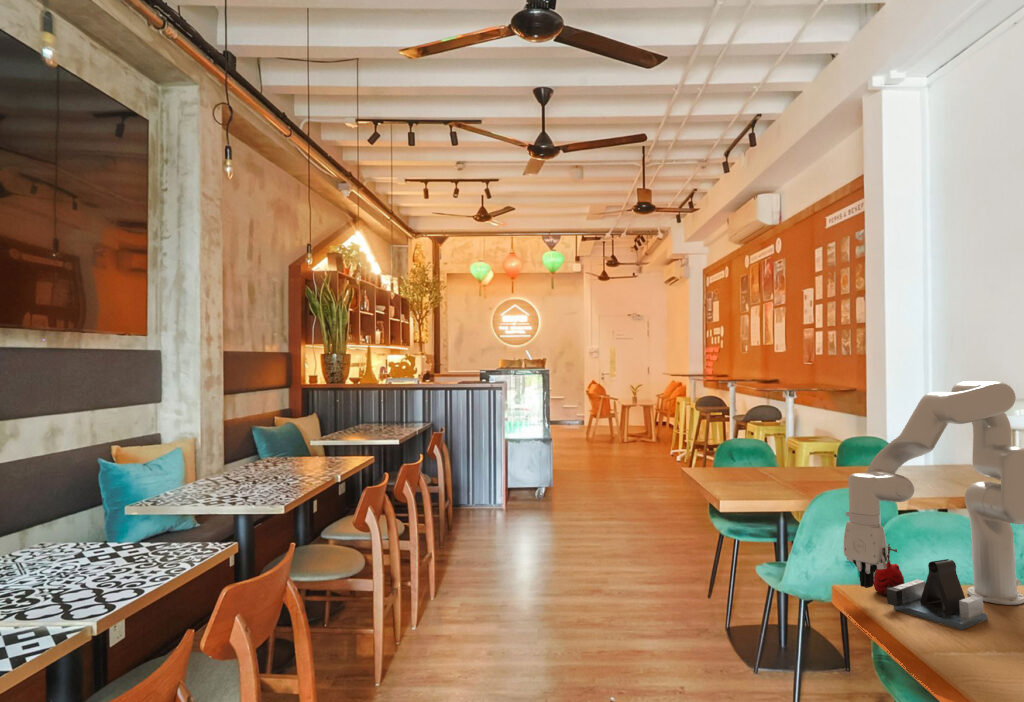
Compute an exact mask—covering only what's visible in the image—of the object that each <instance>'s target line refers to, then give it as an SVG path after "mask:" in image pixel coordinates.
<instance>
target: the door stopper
mask: <svg viewBox="0 0 1024 702" xmlns="http://www.w3.org/2000/svg"><path fill="white" fill-rule="evenodd" d="M927 564H928V565H927V566H928V574H927V578H926V581H925V587H924V590H923V593H922V597H921V600H920V603H922V604H925V605H927V606H930V607H933V608H936V609H938V610H941V611H943V612H946V613H949V614H956V613H960V605H959V601H960V600H962V599H965V598H966V595H965V594H964V591H963V588H962V584H961V582H960V580H959V577H958V574H957V564H956V562H955V561H954V560H953V559H950V558H946V559H940V560H934V561H930V562H928V563H927Z"/></svg>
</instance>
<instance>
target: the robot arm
mask: <svg viewBox="0 0 1024 702" xmlns="http://www.w3.org/2000/svg"><path fill="white" fill-rule="evenodd" d="M1015 402H1016V393H1015V391H1014V389H1013V387H1011V386H1010V385H1009V384H1007V383H1004V382H1001V381H995V380H994V381H993V380H991V381H990V380H989V381H987V380H986V381H985V380H984V381H983V380H966V381H960V382H958V383H956V384H954V385H953V386H952V388H951V392H949V391H932V392H927V393H926V394H924V395H923V396H922V397H921V399H920V400H919V402H918V403H917V405H916V407H915V409H914V410H913V412H912V414H911V416H910V417H909V419H908V420H907V422H906V424H905V426H904V427H903V429H902V431H901V432H900V433H899V435H898V436H897V437H896V438H894V439H893V440H891V441H890V442H889V443H888V444H887V445H885V446H884V447H883V448H882V449H881V450H879V452H878V453H876V455H875V456H874V458H873V459H872V461H871V462H870V464H869V466H868V468H867V469H866V471H865V472H860V473H859V472H857V473H856V472H855V473H851V474H850V475H849V477H848V478H847V479H848V509H849V510H848V511H846V512H845V516H846V517H848V520H849V521H846V522H845V523H846V524H845V529H844V533H843V534H844V535H843V555H844V556H845V557H846V560H847V561H849V562H851V563H853V564H854V566H855V567H856V569H857V571H858V572H859V582H860V587H862V588H865V589H869V588H872V587H874V573H875V571H876V570H877V569H886V568H887V566H886V563H887V560H888V558H887V555H888V544H887V538H886V534H885V529H884V526H883V525H881V524H882V523H881V522H882V521H881V502H882V501H883V502H884V501H885V502H892V503H905V502H907V501H908V500H911V498H912V497H913V495H914V494H915V486H914V484H913V483H912V481H911V480H910V479H909V478H908V477H906V476H904V475H901V474H898V473H897V471H898V470H899V469H900V468H901V467H902V466H903V465H904V464H906V463H907V462H908V461H911V460H913V459H916V458H919V457H922V456H924V455H926V454H929V453H931V452H932V451H933V450H934V448H935V447H936V445H937V443H938V442H939V440H940V438H941V437H942V434H944V432H945V429H946V428H947V426H948V425H949V424H954V425H955V424H956V425H963V424H969V423H971V424H972V435H973V436H972V438H973V439H972V466H973V467H972V468H973V469H974V470H975V472H976V473H978V474H979V475H982V476H984V477H987V478H990V479H991V478H992V479H996V480H1000V483H997V482H992V481H977V482H974V483H972V484H970V485H969V486H968V487H967V488H966V490H965V493H964V505H965V506H966V507H965V508H966V510H967V514H968V518H969V519H968V520H969V524H970V525H969V526H970V537H971V538H970V541H971V554H972V555H971V556H972V557H971V558H972V571H973V572H972V577H973V585H972V586H968V588H967V594H968V595H969V597H970V596H973V595H975V596H979V597H983V602H985V603H990V604H991V603H992V604H997V605H1007V606H1014V605H1015V606H1016V605H1021V604H1024V595H1023V594H1021V593H1020V592H1018V586H1020V585H1021V581H1020V579H1019V578H1017V572H1016V570H1017V569H1016V553H1015V537H1014V536H1015V535H1014V531H1013V528H1012V525H1011V524H1014V525H1024V448H1023V447H1020V446H1014V445H1012V428H1011V423H1010V419H1009V417H1008V416H1007V414H1006V412H1008V411H1009V410H1010V409H1012V408H1013V406H1014V404H1015Z"/></svg>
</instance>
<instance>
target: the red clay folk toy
mask: <svg viewBox="0 0 1024 702" xmlns="http://www.w3.org/2000/svg"><path fill="white" fill-rule="evenodd" d="M891 551H893V552H895V553H898V549H897V548H895V549H893V548H891V546H890V543H888V544H887V561H886V566H887V568H886V569H877V570H876V571H875V572H874V573H873V575H874V584H873V587H874V588H873V589H874V590H875V591H876V593H878V594H879V595H881V596H884V597H887V588H890V587H895V586H898V585H901V584H905V579H904V576H903V573H902V571H901V570H900V565H899V564H897V563H891V560H890V558H891V557H890V552H891Z"/></svg>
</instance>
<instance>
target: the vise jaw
mask: <svg viewBox="0 0 1024 702" xmlns="http://www.w3.org/2000/svg"><path fill="white" fill-rule="evenodd" d="M925 583H926V581H925V580H921V579H914V580H911V581H909V582H904V584H901V585H898V586H895V587H890V588H887V596H886V599H887V605H890V606H893V607H894V606H896V607H898V606H901V605H903V604H905V603H908V602H910V601H913V600H916V599H919V598H921V597H922V593H923V590H924V587H925Z"/></svg>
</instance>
